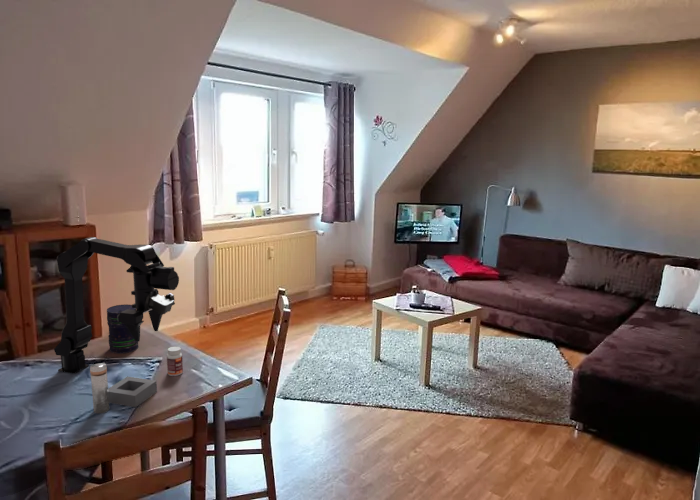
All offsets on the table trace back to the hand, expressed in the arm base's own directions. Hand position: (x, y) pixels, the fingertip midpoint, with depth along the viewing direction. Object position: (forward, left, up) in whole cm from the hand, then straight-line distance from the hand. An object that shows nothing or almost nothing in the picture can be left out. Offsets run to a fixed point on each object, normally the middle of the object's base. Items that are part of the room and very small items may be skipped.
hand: (147, 336), depth 164 cm
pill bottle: (+5, +7, -15) cm, 17 cm away
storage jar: (-24, +20, -15) cm, 35 cm away
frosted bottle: (-1, -20, -15) cm, 25 cm away
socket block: (+2, -11, -15) cm, 18 cm away
